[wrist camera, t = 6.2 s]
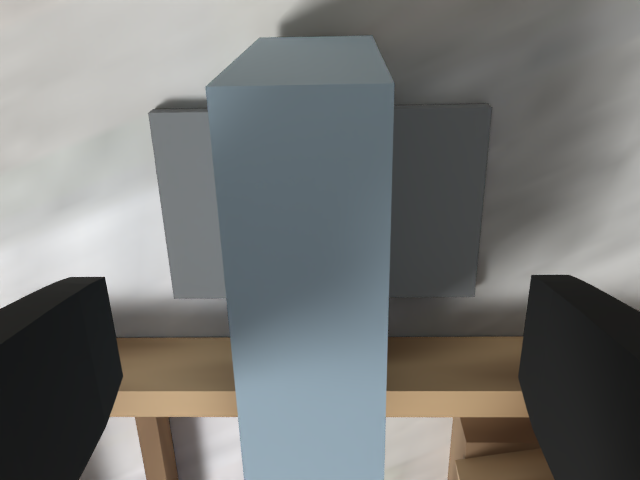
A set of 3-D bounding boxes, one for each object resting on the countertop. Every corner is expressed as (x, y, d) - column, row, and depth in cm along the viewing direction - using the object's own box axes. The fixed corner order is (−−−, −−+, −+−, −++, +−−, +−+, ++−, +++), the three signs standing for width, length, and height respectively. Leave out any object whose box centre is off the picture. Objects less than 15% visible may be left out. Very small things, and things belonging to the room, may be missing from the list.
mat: (488, 103, 14) (491, 107, 14) (471, 289, 16) (474, 296, 16) (153, 109, 15) (148, 113, 14) (177, 291, 17) (174, 298, 16)
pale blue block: (372, 34, 13) (394, 83, 8) (368, 340, 17) (382, 523, 11) (259, 37, 14) (205, 87, 8) (277, 341, 17) (248, 522, 11)
